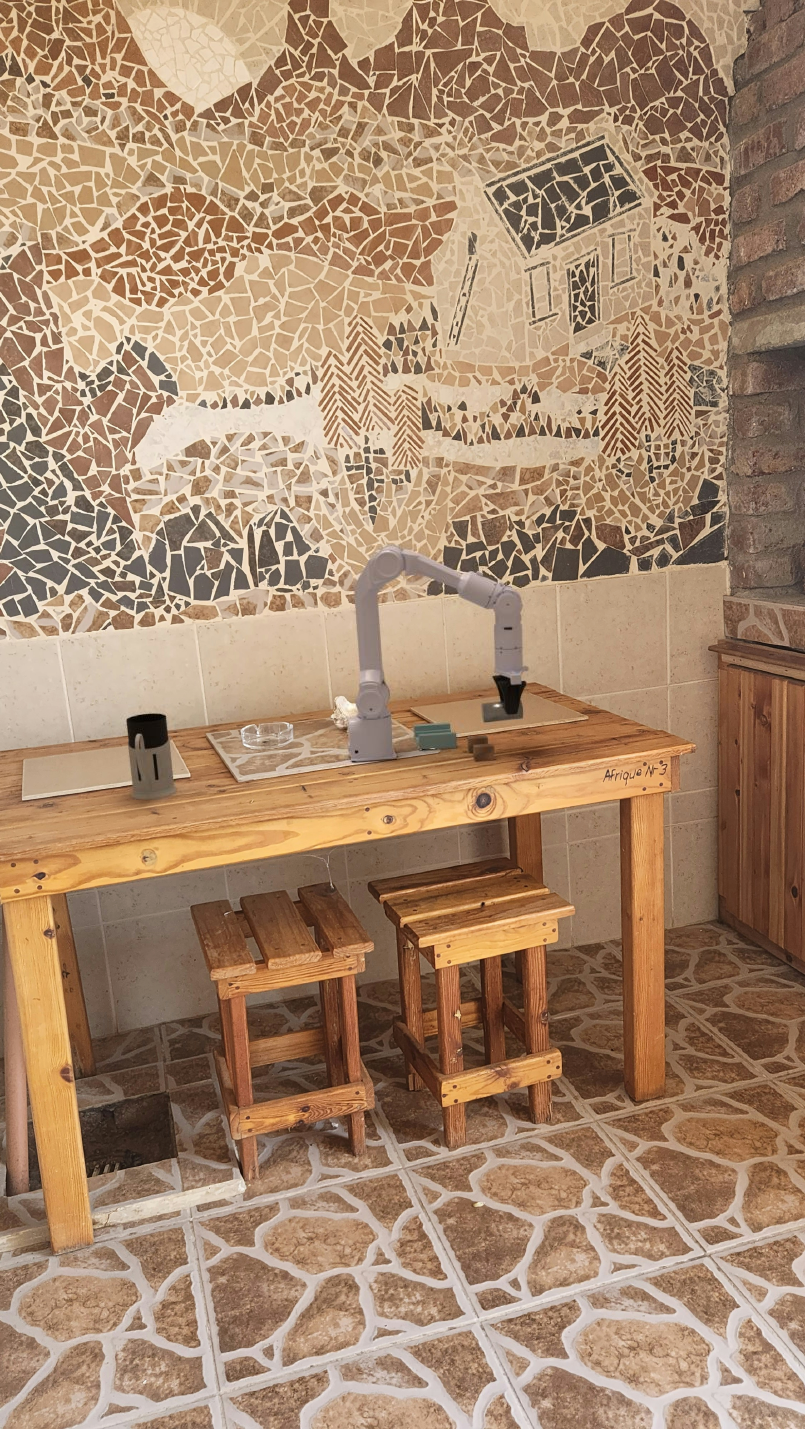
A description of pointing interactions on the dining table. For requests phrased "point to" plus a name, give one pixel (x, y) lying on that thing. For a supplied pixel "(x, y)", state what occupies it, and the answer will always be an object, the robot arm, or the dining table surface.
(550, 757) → the dining table surface
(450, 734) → the v block
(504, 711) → the axle
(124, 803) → the dining table surface
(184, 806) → the dining table surface
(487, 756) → the block
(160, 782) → the glass holder
